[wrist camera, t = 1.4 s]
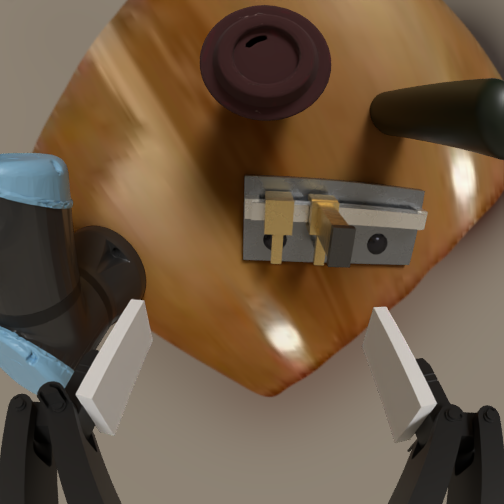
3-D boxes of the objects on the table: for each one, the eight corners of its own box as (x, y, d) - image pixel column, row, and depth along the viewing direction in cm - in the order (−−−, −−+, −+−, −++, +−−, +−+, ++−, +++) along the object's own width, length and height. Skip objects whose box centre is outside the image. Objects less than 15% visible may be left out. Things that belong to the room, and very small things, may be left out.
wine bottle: (394, 144, 32) (604, 226, 5) (361, 115, 31) (585, 138, 4) (416, 112, 30) (625, 149, 3) (385, 83, 29) (599, 62, 2)
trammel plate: (243, 256, 40) (240, 278, 34) (245, 174, 35) (241, 184, 30) (406, 261, 39) (423, 282, 34) (421, 189, 35) (443, 201, 29)
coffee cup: (302, 126, 32) (330, 128, 19) (219, 119, 32) (189, 116, 19) (309, 51, 28) (339, 7, 15) (225, 44, 28) (202, -4, 15)
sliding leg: (301, 249, 38) (316, 302, 27) (307, 191, 34) (327, 225, 23) (324, 250, 37) (347, 303, 27) (331, 193, 34) (361, 226, 23)
